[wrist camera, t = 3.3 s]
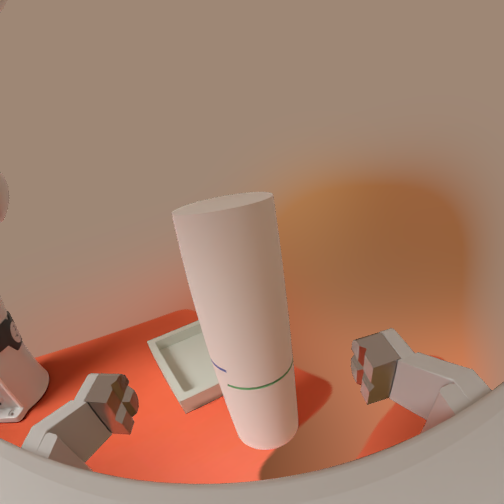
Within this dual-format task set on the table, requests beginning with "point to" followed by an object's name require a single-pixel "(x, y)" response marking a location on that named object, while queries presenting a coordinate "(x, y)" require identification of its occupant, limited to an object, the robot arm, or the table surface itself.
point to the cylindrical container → (243, 310)
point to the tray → (187, 366)
